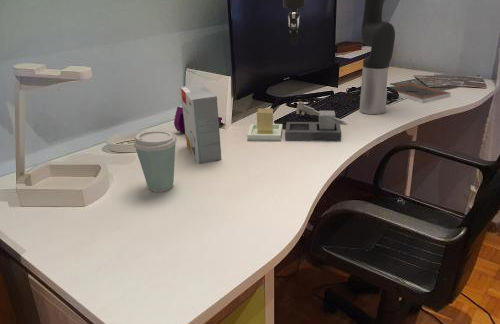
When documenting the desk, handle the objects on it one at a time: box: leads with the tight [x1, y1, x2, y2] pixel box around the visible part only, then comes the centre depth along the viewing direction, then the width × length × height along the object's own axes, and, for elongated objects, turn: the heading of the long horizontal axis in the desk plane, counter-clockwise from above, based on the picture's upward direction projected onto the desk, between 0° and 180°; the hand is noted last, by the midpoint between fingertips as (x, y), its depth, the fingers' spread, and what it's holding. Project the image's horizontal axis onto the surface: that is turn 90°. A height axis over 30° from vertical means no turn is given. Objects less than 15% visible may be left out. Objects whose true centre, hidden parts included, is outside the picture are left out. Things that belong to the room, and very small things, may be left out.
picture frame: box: [388, 82, 452, 104], centre depth 180 cm, size 16×2×22 cm
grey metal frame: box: [284, 121, 342, 142], centre depth 139 cm, size 18×10×3 cm, turn 83°
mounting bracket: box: [173, 106, 223, 134], centre depth 149 cm, size 9×8×18 cm
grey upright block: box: [318, 110, 336, 131], centre depth 138 cm, size 5×5×8 cm
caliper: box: [295, 100, 348, 126], centre depth 153 cm, size 20×1×6 cm, turn 55°
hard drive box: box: [179, 83, 222, 165], centre depth 126 cm, size 16×8×20 cm, turn 21°
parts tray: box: [246, 123, 283, 142], centre depth 142 cm, size 11×11×2 cm
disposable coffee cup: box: [133, 129, 177, 193], centre depth 107 cm, size 11×11×15 cm
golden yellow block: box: [256, 108, 274, 134], centre depth 140 cm, size 5×5×8 cm
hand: (293, 42), depth 144 cm, fingers open, 8 cm apart
